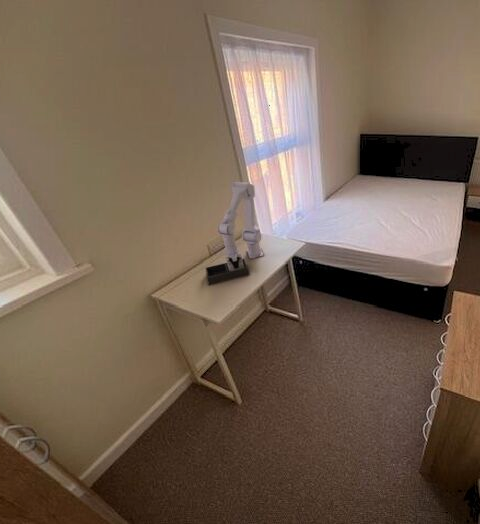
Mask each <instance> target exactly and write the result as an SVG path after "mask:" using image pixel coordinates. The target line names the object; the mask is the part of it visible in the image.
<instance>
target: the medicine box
mask: <svg viewBox="0 0 480 524" xmlns="http://www.w3.org/2000/svg"><path fill="white" fill-rule="evenodd" d="M237 257H240V260H239V268H237V269H234V267H233V265H232V263H231V262H230V261H229V259H228V258H231V257H229V256H226V257H225V261H226V263H227V265H228V268H229V272H231V271H235V270H239V269H243V268H244V265H243V260H242V259H243V256H242V254H241V253H238V254H237Z"/></svg>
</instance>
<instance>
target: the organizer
mask: <svg viewBox="0 0 480 524" xmlns="http://www.w3.org/2000/svg"><path fill="white" fill-rule="evenodd" d="M242 260H243V265H244V268H243V269H239V270H235V271H231V272H229V268H228V265H227V262H224V263H219V264H215V265H211V266H207V267H205V275H206V280H207V282H208V286H211V285H216V284H218V283H219V284H220V283H222V282H226V281H230V280H234V279H238V278H242V277H246V276H249V275H250V273H249V269H248V265H247V263H246V259H245V258H242Z"/></svg>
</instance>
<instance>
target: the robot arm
mask: <svg viewBox="0 0 480 524" xmlns="http://www.w3.org/2000/svg"><path fill="white" fill-rule="evenodd" d="M231 191H232V197H231V202H230V205H229V208H227V209H226V210H225V214H224V216H223V219H222V221H221V222H220V223H219V224H218V226H217V232H218V234H220V236H221V238H222V241H223V244H224V248H225V251H224V256H227V257H231V258H228V259H229V261H230V262H231V263H232V265H233V267H234V269H237V268H239V260H240V257H237V254H239V249H238V246H237V241H236V237H235V231H236V220H237V217H238V214H239V213H238V212H237V211H238V208H239V206H240V204H241V202H242V199H243V201H244V202H243V205H244V217H245V227H243V228H242V234H241V239H242V240H243V241H244V242H245V244H246V245H247V255H248V258H249V259H251V260H252V259H255V258H259V257H263V256H264V253H263V251H262V249H261V245H260V244H261V243H260V242H261V240H262V233H261V229H260V228H259V227H258V226H257V225H256V214H255V197H256V193H255V185H254V184H253V183H252V182H241V181H240V182H239V181H234V182H233V183H232V186H231Z"/></svg>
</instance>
